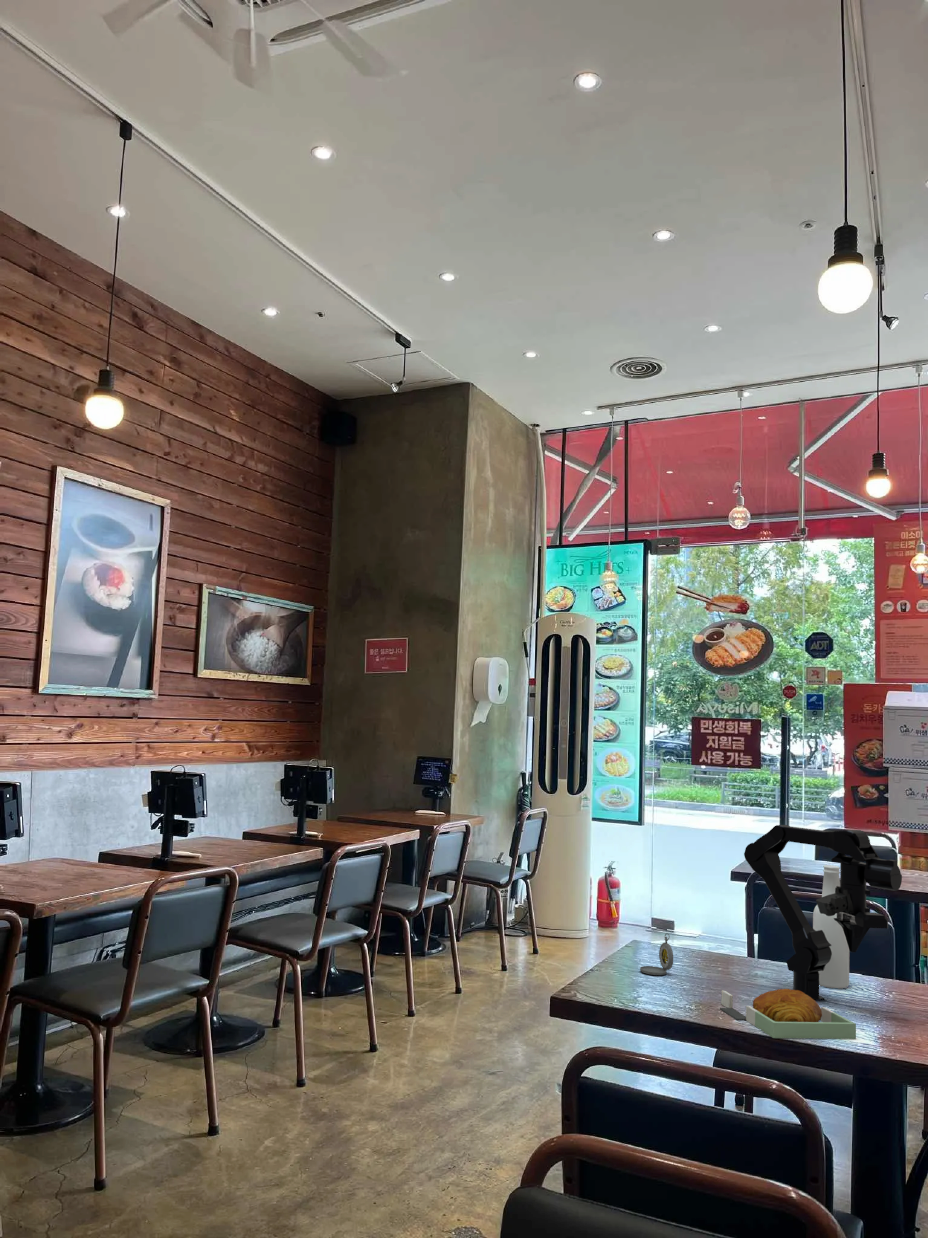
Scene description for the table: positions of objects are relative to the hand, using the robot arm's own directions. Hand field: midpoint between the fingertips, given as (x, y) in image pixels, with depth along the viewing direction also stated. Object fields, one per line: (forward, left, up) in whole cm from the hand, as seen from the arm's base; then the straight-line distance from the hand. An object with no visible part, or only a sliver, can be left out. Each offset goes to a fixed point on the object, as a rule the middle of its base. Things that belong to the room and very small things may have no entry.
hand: (852, 952), depth 214 cm
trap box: (+9, -22, -13) cm, 27 cm away
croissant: (+10, -22, -13) cm, 28 cm away
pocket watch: (-30, -36, -13) cm, 49 cm away
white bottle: (-22, +8, -13) cm, 27 cm away
